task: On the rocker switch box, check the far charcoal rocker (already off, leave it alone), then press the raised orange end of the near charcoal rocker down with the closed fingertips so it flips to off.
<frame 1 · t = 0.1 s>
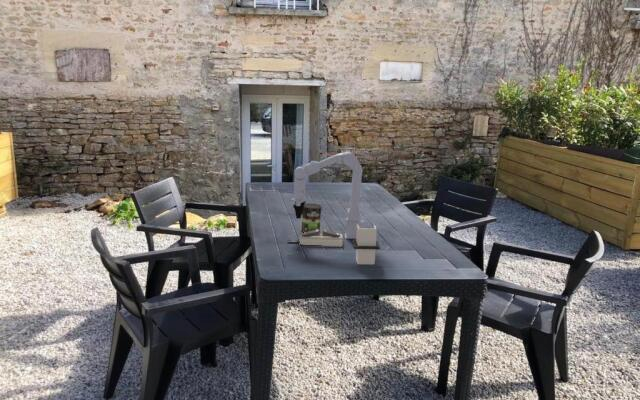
hand: (299, 216, 240), 10 cm above the table, tool pointing down, fingers open, 7 cm apart
coffee can: (310, 231, 251), on the table, touching gripper
rocker switch box: (320, 243, 231), on the table
near rocker: (331, 233, 230), point 5 cm above the table, hinge at -14.0°
far rocker: (311, 233, 230), point 5 cm above the table, hinge at 14.0°
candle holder: (365, 262, 207), on the table
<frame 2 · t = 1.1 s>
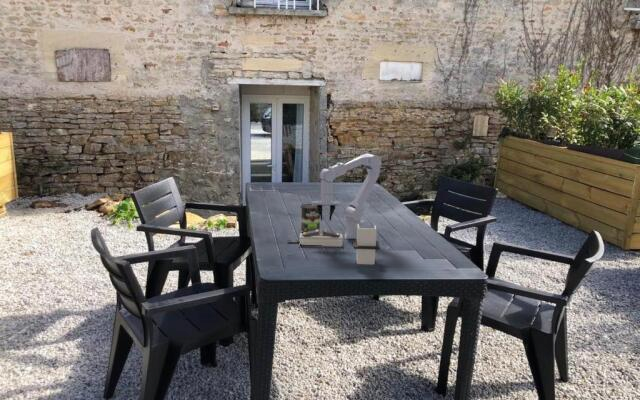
hand: (325, 219, 235), 10 cm above the table, tool pointing down, fingers open, 4 cm apart
coffee can: (310, 231, 251), on the table
everything else where it was.
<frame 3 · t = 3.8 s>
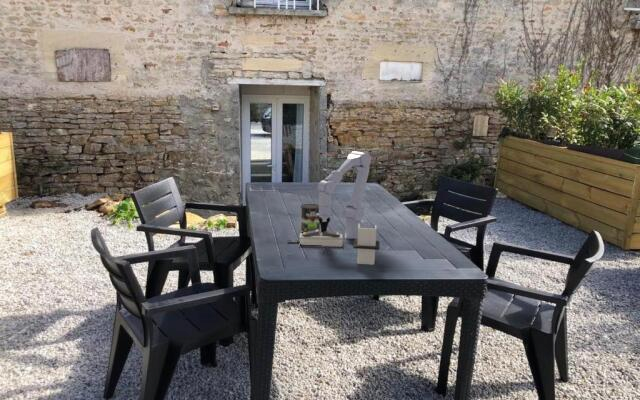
hand: (323, 232, 230), 6 cm above the table, tool pointing down, fingers closed, pressing on near rocker
near rocker: (331, 233, 230), point 5 cm above the table, hinge at -9.9°, touching gripper
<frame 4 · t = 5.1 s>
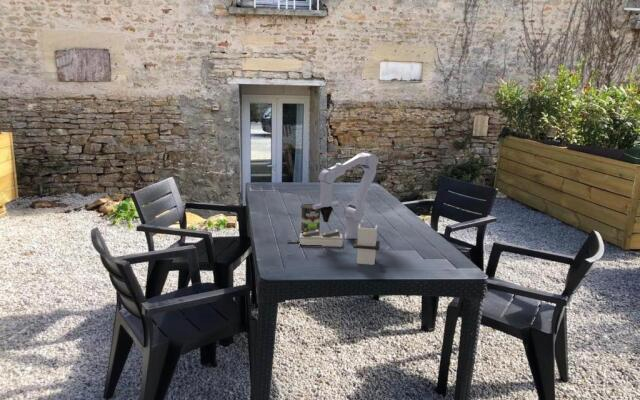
hand: (325, 221, 232), 10 cm above the table, tool pointing down, fingers closed
near rocker: (330, 233, 230), point 5 cm above the table, hinge at 16.9°, touching rocker switch box
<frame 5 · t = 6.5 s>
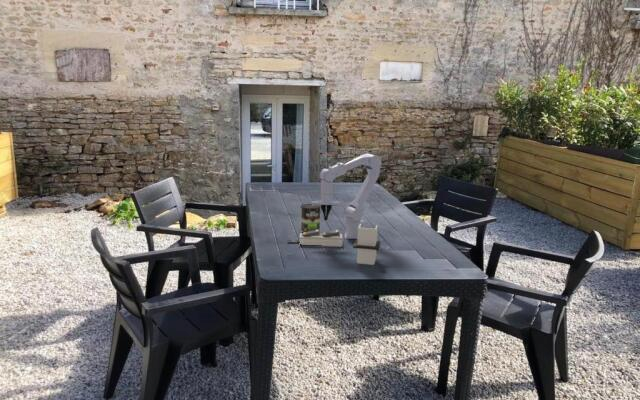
hand: (325, 219, 235), 10 cm above the table, tool pointing down, fingers closed
near rocker: (330, 233, 230), point 5 cm above the table, hinge at 13.2°
at the end: near rocker at +13° (first picture: -14°); far rocker at +14° (first picture: +14°) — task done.
